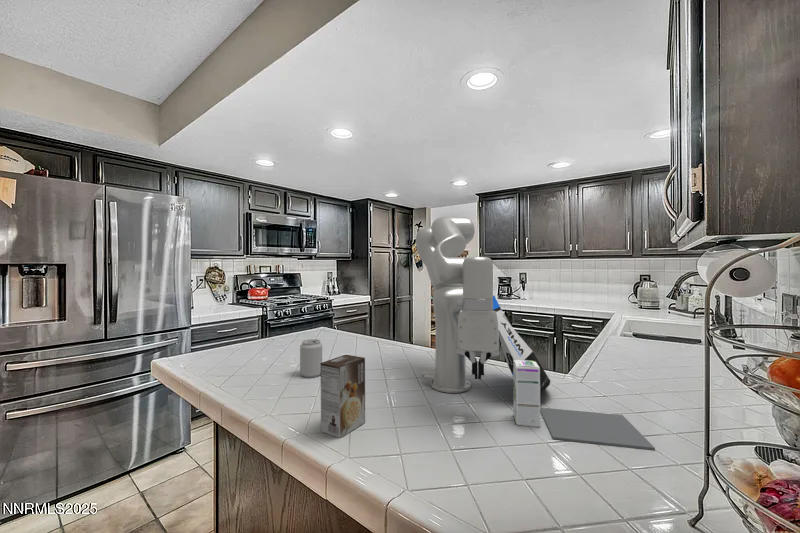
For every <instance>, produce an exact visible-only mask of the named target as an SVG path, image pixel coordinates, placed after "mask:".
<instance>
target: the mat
mask: <svg viewBox="0 0 800 533" xmlns="http://www.w3.org/2000/svg"><path fill="white" fill-rule="evenodd" d="M540 415H541V416H542V419H543V421H544V422H545V425H546V428H547V429H548V431H549V434H550V436H551V439H552V440H555V441H567V442H575V443H582V444H583V443H584V444H594V445H603V446H604V445H605V446H611V447H612V446H613V447H619V448H620V447H621V448H632V449H639V450H648V451H650V450H651V451H655V450H656V448H655V446H654V445H653V444H652V443H651V442H650V441H649V440H648V439H647V438H646V437H645V436H644V435H643V434H642V433H641V432H640V431H639V430H638V429H637V428H636V427H635V426H634V425H633V424H632V423H631V422H630V421H629V419H627V418H626V417H625V416H624V415H623V414H617V413H604V412H594V411H586V410H585V411H582V410H573V409H561V408H560V409H559V408H548V407H540Z"/></svg>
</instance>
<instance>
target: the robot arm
mask: <svg viewBox="0 0 800 533" xmlns="http://www.w3.org/2000/svg"><path fill="white" fill-rule="evenodd" d="M475 228H476V227H475V225H474V223H473V221H472V220H471V218H468V217H465V216H462V217H461V216H460V217H459V216H441V217H438V218H437V217H436V219H434V220H433V221H432V223H431V226H426V227H422V228H420V229H419V230H418V231H417V232H416V235H415V246H416V251H417V254H418V256H419V258H420V260H421V262H422V263H423V264H424V266H425V268H426V271H427V274H428V277H429V280H430V284H431V287H432V289H434V293H433V295H432V305H433V310H434V311H433V312H434V323H435V325H434V326H435V360H434V361H435V368H434V370H431V371H428V370H422V371H421V378H424V379H425V380H429V379H430V387H431V388H433V390H436V391H437V392H442V393H446V394H447V393H450V394H459V393H464V392H467V391H469V390H470V389H471V382H470V381H469V380H468V379H466V368H467V367H466V362H467V359H468V360H469V361H470V362H471V376H474V380H480V381H481V380H482V376H485V363H486V362H487V361H488V360H489V359H490V358H492V357H498V356H500V354H501V353H500V349H499V348H500V341H499V330H498V319H497V314H496V311H493V296H494V265H493V260H492V259H491V258H490V257H486V256H469V257H466V256H465V257H463V256H460V255H462V254H463V253H464V251H465V250H466V247H467V245H468V244H469V243H470V242H471V241H472V240H473V239H474V236H475V230H476V229H475ZM476 353H480V356H479V359H478V360H477V358H476ZM466 358H467V359H466Z"/></svg>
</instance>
